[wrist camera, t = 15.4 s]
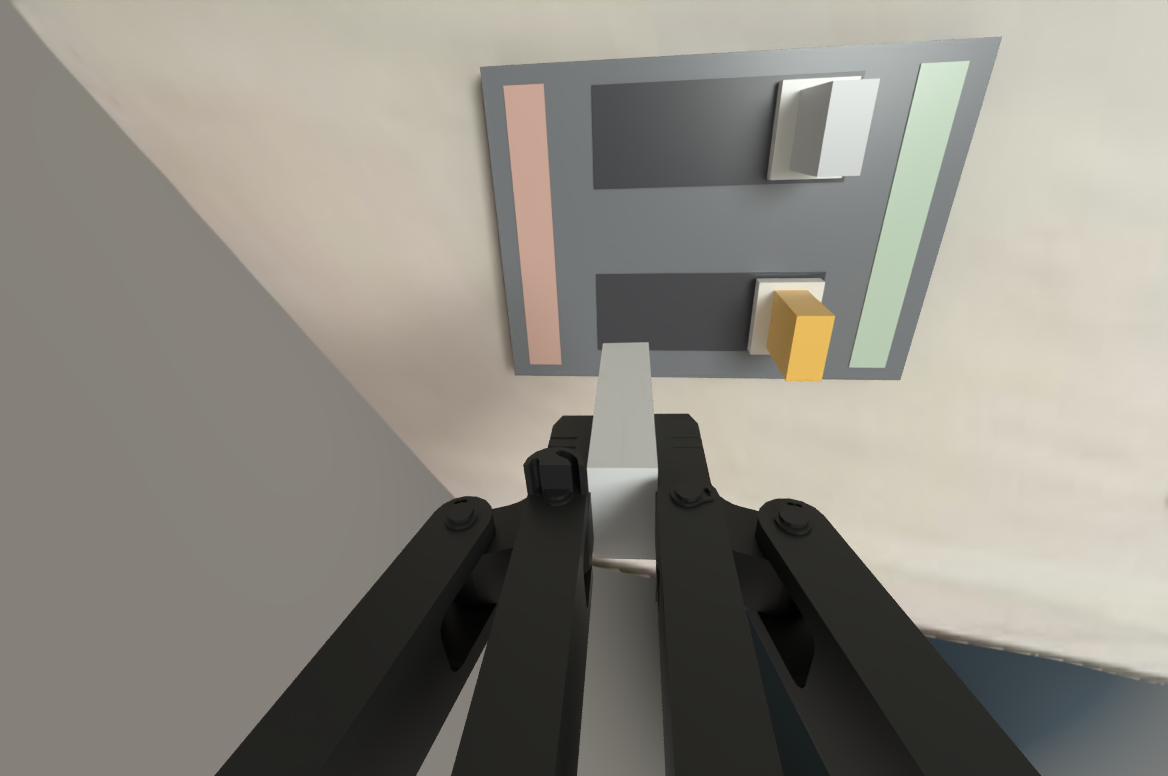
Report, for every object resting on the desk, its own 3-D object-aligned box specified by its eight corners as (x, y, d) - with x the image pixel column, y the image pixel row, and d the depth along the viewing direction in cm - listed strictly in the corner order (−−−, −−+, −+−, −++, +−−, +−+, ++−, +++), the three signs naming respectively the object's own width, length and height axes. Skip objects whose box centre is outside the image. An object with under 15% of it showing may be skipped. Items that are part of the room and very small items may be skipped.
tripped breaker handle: (756, 278, 32) (779, 307, 26) (820, 277, 31) (856, 307, 26) (747, 348, 34) (766, 388, 29) (806, 349, 34) (837, 389, 28)
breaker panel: (491, 71, 30) (442, 51, 23) (972, 44, 27) (1098, 10, 20) (522, 361, 40) (494, 414, 32) (884, 365, 37) (947, 424, 29)
